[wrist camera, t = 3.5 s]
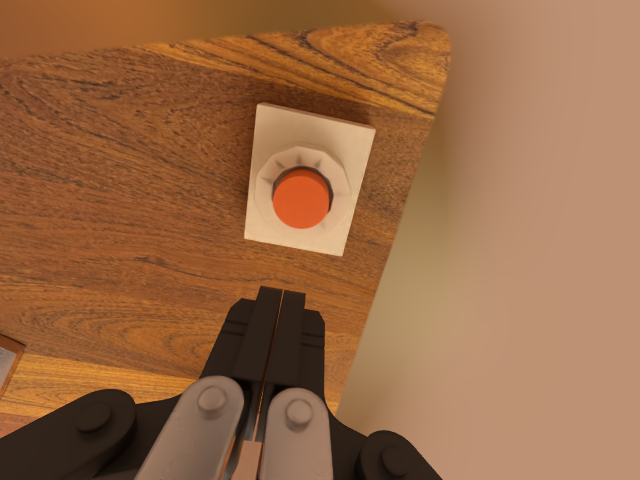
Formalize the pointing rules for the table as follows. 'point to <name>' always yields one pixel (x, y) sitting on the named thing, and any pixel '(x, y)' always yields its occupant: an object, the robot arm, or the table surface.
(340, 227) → the block
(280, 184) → the power button
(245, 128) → the table surface
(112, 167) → the table surface
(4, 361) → the lever bracket
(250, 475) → the cup
